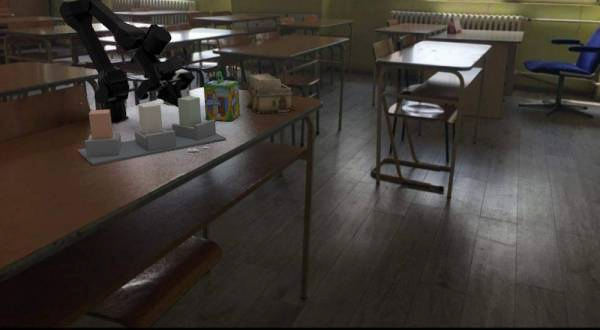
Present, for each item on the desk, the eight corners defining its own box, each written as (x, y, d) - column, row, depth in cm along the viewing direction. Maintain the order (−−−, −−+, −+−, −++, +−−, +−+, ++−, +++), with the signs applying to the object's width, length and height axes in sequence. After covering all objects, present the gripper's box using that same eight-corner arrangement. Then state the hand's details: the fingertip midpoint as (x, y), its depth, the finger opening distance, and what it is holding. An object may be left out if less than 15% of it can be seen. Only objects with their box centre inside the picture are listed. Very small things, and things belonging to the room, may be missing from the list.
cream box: (141, 140, 135) (138, 104, 132) (157, 137, 138) (154, 102, 134) (147, 144, 132) (143, 107, 129) (163, 141, 135) (160, 105, 131)
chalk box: (232, 122, 158) (230, 75, 153) (204, 120, 160) (202, 73, 155) (241, 115, 167) (239, 70, 162) (215, 113, 169) (212, 69, 164)
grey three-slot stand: (76, 150, 130) (74, 133, 128) (202, 128, 150) (201, 113, 149) (93, 165, 119) (90, 147, 118) (226, 140, 140) (225, 124, 138)
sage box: (180, 133, 142) (177, 98, 139) (191, 129, 146) (188, 95, 143) (190, 135, 140) (188, 100, 137) (201, 131, 144) (199, 97, 141)
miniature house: (256, 116, 166) (255, 81, 162) (244, 107, 178) (243, 74, 174) (298, 112, 171) (298, 79, 167) (284, 103, 184) (284, 72, 180)
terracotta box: (95, 148, 129) (90, 110, 125) (114, 147, 130) (109, 109, 126) (94, 153, 125) (88, 114, 122) (113, 151, 126) (108, 113, 123)
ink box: (170, 105, 178) (167, 72, 174) (163, 103, 182) (160, 70, 178) (191, 102, 184) (188, 69, 180) (183, 100, 187) (181, 68, 183)
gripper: (138, 50, 131) (173, 96, 130) (188, 43, 146) (219, 85, 145) (121, 77, 138) (154, 121, 136) (170, 68, 153) (200, 108, 151)
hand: (183, 108), depth 142 cm, fingers closed, pressing on sage box
